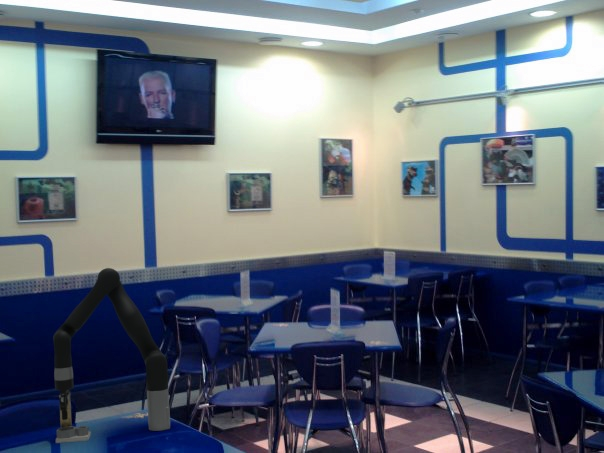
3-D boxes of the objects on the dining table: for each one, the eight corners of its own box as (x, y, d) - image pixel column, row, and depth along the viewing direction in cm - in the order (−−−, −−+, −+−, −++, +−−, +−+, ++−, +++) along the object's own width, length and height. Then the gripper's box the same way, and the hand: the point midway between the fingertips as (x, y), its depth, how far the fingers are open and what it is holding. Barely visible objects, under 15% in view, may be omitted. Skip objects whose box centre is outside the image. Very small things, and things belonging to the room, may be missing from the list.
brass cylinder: (72, 424, 328) (71, 400, 328) (70, 426, 324) (69, 402, 324) (61, 424, 328) (60, 401, 328) (59, 427, 323) (58, 403, 323)
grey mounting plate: (90, 434, 332) (90, 424, 332) (88, 440, 323) (87, 429, 323) (59, 437, 330) (58, 426, 330) (55, 443, 321) (55, 432, 321)
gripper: (70, 380, 319) (72, 421, 319) (75, 373, 333) (77, 413, 333) (51, 381, 318) (53, 423, 318) (57, 375, 332) (59, 414, 332)
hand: (65, 417), depth 326 cm, fingers closed on brass cylinder, 4 cm apart
